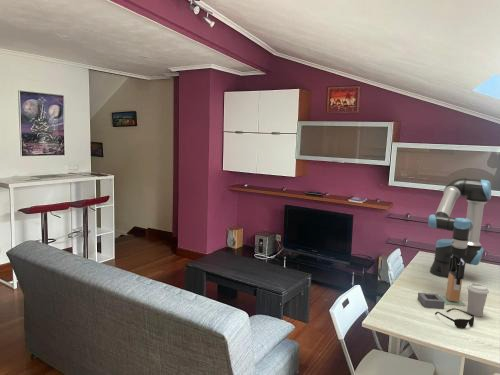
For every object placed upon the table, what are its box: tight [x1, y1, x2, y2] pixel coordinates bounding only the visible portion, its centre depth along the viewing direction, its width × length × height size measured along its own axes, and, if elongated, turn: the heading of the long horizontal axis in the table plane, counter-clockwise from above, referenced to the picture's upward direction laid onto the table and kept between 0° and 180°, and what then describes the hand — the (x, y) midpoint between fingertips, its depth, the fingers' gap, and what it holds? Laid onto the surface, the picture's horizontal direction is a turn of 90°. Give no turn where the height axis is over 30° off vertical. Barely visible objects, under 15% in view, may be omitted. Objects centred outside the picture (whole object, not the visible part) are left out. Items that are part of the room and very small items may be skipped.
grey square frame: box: [417, 292, 446, 310], centre depth 201 cm, size 10×10×4 cm
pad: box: [439, 295, 467, 307], centre depth 206 cm, size 10×10×1 cm
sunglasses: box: [434, 307, 475, 329], centre depth 184 cm, size 14×16×5 cm
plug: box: [445, 271, 463, 302], centre depth 205 cm, size 5×5×15 cm
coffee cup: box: [466, 282, 490, 318], centre depth 191 cm, size 10×10×15 cm
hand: (453, 287), depth 205 cm, fingers closed on plug, 5 cm apart
